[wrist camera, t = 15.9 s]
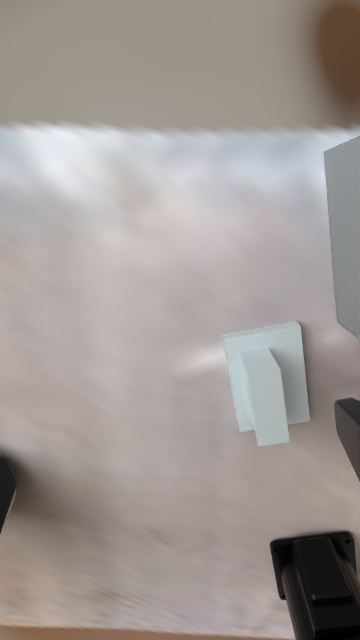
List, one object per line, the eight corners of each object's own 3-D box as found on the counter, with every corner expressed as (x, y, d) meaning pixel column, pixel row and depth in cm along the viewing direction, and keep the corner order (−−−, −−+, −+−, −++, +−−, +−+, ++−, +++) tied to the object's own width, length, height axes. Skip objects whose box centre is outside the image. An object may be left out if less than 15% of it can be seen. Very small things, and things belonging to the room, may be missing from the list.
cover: (304, 411, 24) (327, 451, 20) (237, 421, 24) (246, 463, 20) (294, 319, 22) (318, 344, 18) (221, 332, 22) (227, 360, 18)
